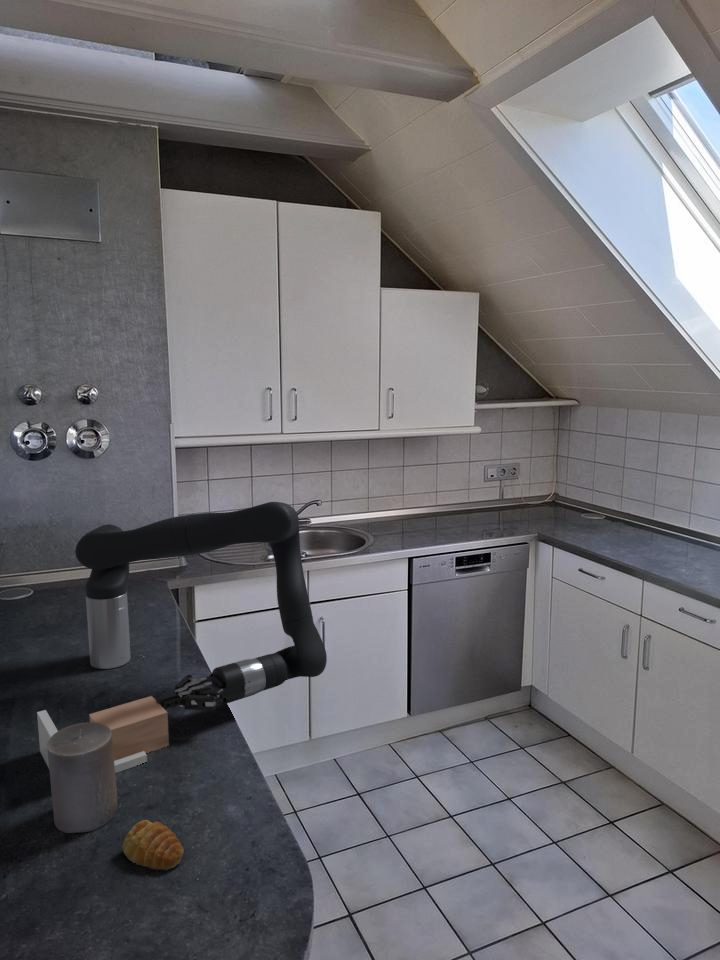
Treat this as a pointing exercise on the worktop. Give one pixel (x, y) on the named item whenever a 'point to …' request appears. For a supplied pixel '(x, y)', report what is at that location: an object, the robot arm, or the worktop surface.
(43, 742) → the white frame piece
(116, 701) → the worktop surface
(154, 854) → the pastry
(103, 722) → the wooden block
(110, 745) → the pillar candle
